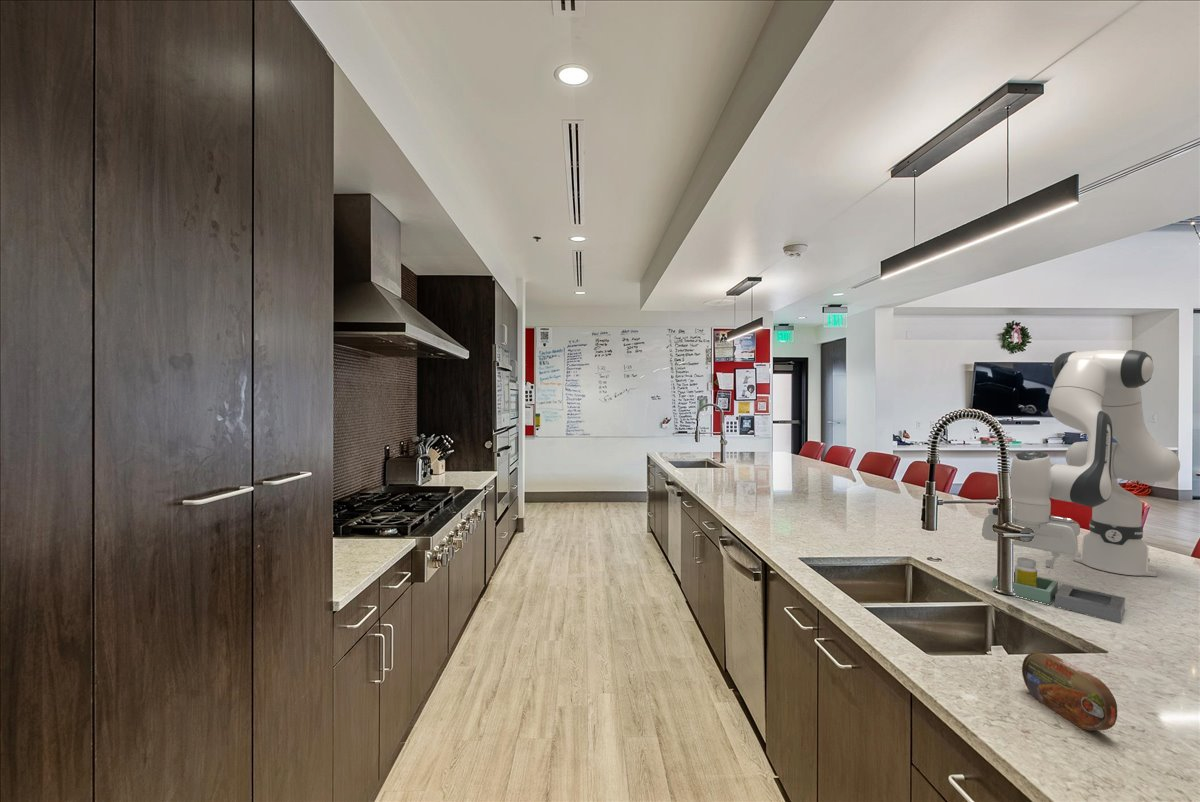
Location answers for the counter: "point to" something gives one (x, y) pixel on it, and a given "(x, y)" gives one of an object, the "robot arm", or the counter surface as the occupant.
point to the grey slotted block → (1091, 602)
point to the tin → (1070, 691)
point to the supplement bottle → (1026, 572)
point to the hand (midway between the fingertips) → (1026, 563)
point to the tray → (1035, 590)
